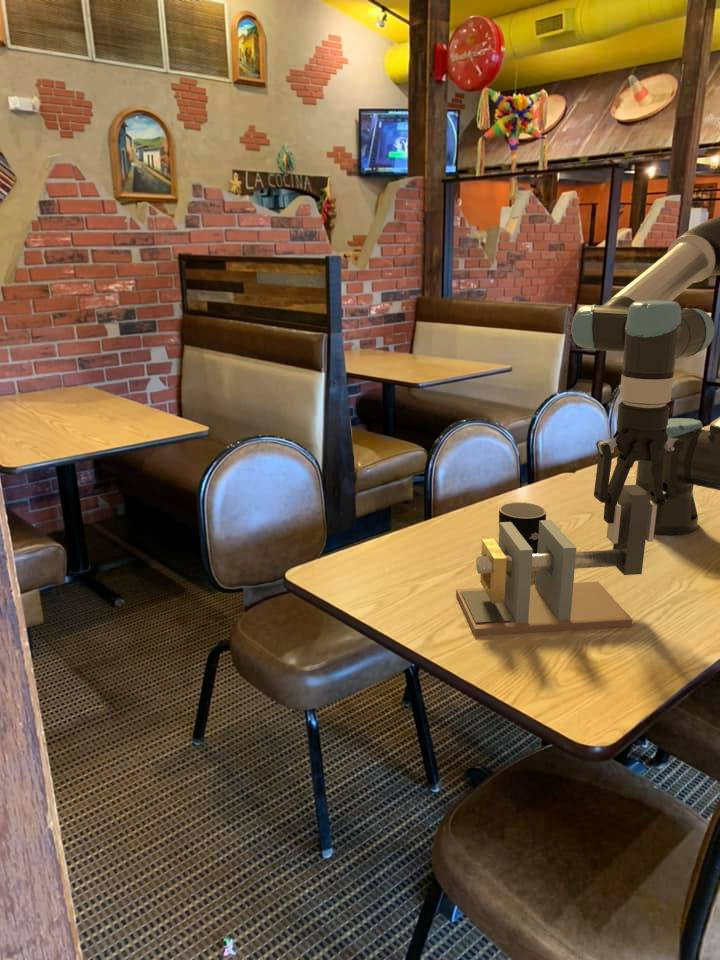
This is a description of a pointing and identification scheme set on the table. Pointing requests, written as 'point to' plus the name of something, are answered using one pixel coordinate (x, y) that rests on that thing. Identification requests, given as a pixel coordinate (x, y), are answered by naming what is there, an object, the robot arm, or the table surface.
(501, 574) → the ring
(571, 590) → the bearing block
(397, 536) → the table surface
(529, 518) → the mug
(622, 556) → the shaft
